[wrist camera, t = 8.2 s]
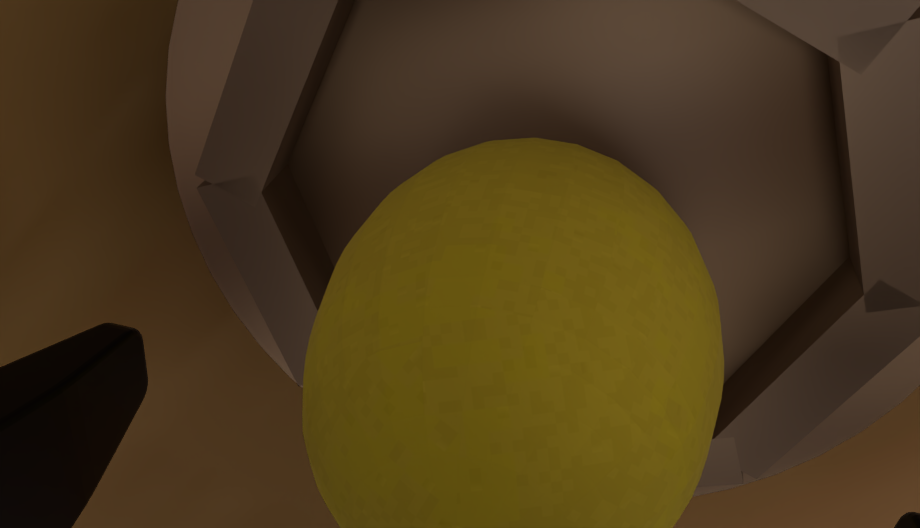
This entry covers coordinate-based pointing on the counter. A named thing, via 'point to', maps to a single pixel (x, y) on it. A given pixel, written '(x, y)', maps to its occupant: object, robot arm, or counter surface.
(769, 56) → the stand
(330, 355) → the lemon
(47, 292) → the counter surface
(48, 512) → the robot arm
